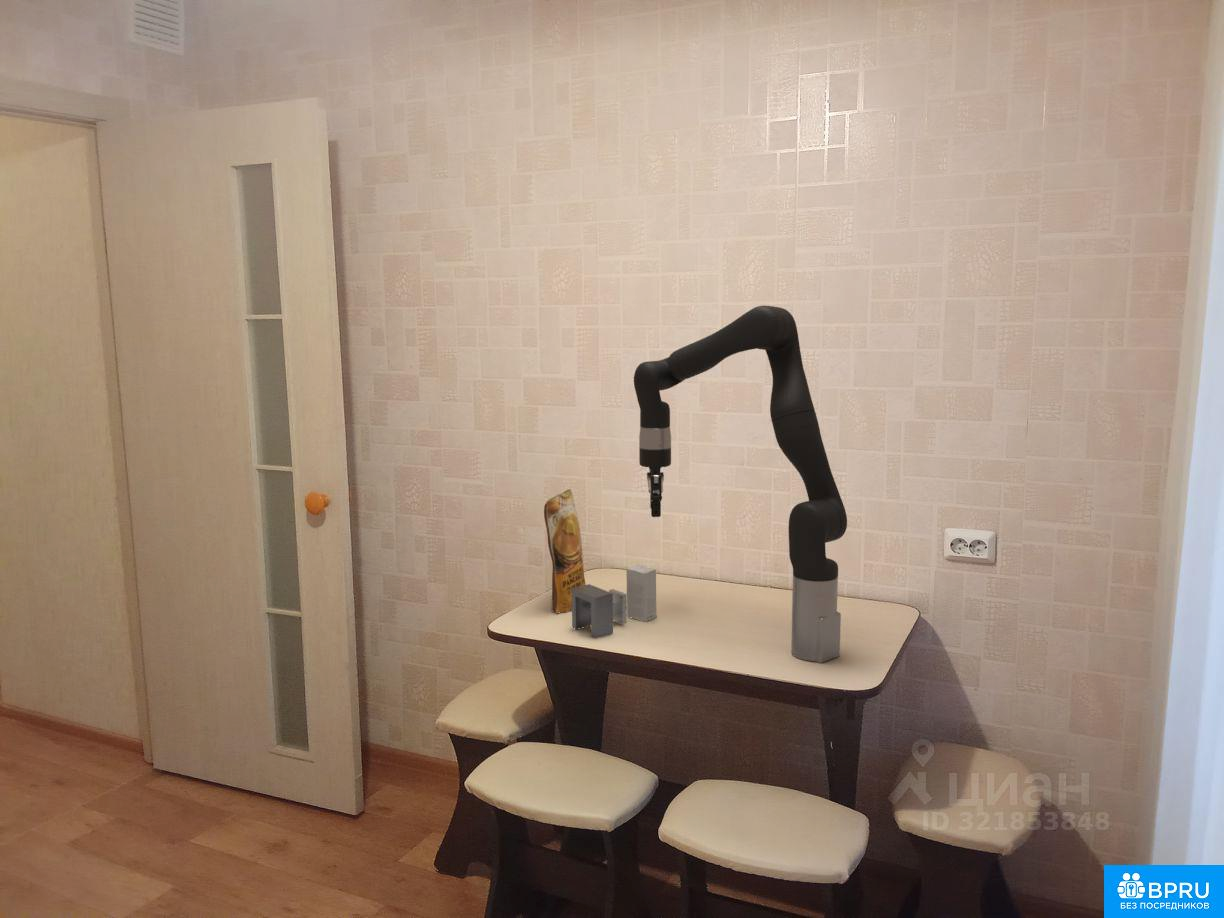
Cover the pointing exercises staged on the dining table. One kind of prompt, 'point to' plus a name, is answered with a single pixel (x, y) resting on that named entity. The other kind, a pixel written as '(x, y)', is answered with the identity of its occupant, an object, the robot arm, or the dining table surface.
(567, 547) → the pancake mix bag
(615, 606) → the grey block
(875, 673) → the dining table surface
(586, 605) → the grey hollow block
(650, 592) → the skincare box
